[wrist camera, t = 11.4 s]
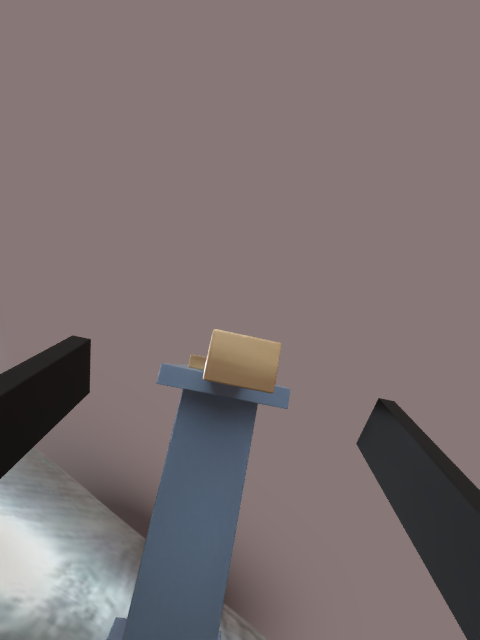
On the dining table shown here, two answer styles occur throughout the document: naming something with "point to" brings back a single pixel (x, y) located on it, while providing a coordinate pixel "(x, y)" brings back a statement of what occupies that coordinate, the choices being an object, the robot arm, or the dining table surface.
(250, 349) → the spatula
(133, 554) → the dining table surface
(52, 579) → the dining table surface
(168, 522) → the stand
